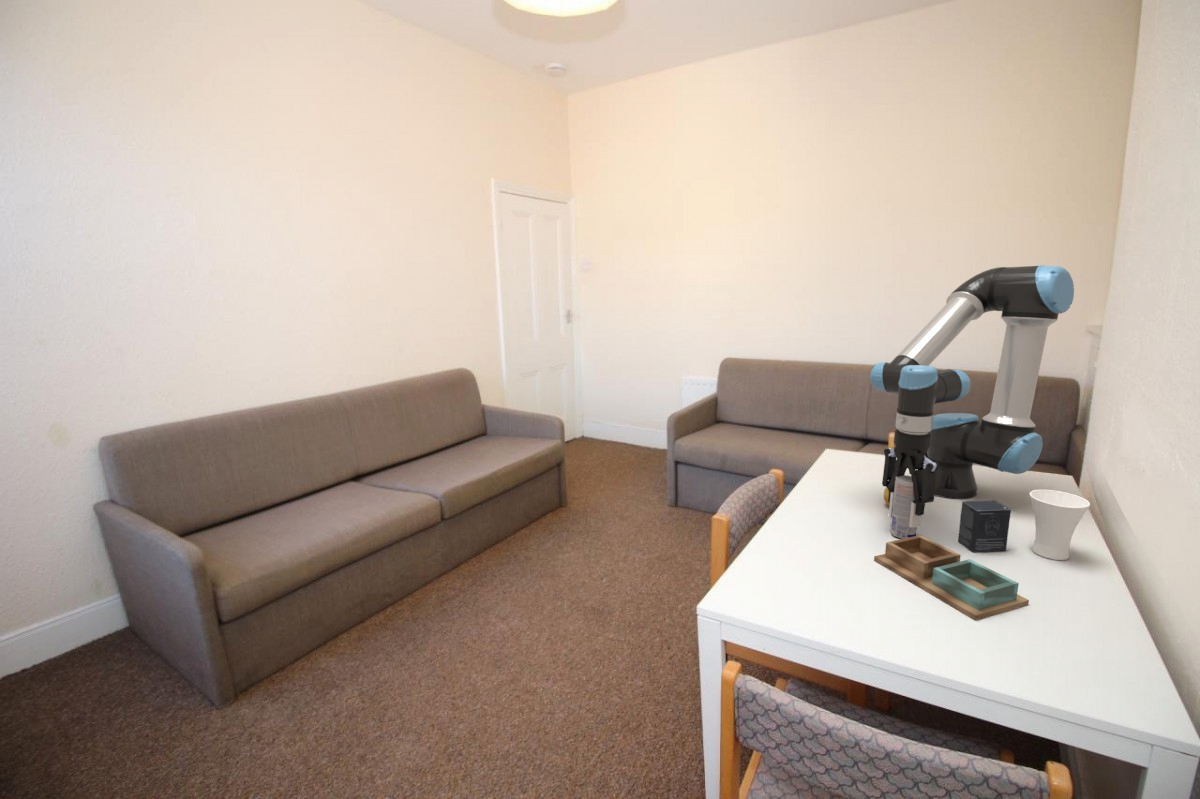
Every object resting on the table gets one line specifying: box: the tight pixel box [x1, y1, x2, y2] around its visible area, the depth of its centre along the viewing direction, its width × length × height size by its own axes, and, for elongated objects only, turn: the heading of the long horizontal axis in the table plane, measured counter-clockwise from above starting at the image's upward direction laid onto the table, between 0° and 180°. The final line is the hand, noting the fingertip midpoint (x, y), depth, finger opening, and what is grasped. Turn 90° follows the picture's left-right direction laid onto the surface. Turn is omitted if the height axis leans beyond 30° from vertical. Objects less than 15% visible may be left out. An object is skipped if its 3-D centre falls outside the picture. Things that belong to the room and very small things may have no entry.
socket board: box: [873, 534, 1030, 621], centre depth 114 cm, size 24×14×4 cm, turn 19°
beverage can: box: [890, 475, 918, 539], centre depth 133 cm, size 6×6×15 cm
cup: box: [1028, 489, 1091, 561], centre depth 123 cm, size 10×10×14 cm
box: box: [957, 499, 1012, 553], centre depth 127 cm, size 8×6×11 cm
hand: (904, 521), depth 134 cm, fingers closed on beverage can, 5 cm apart
